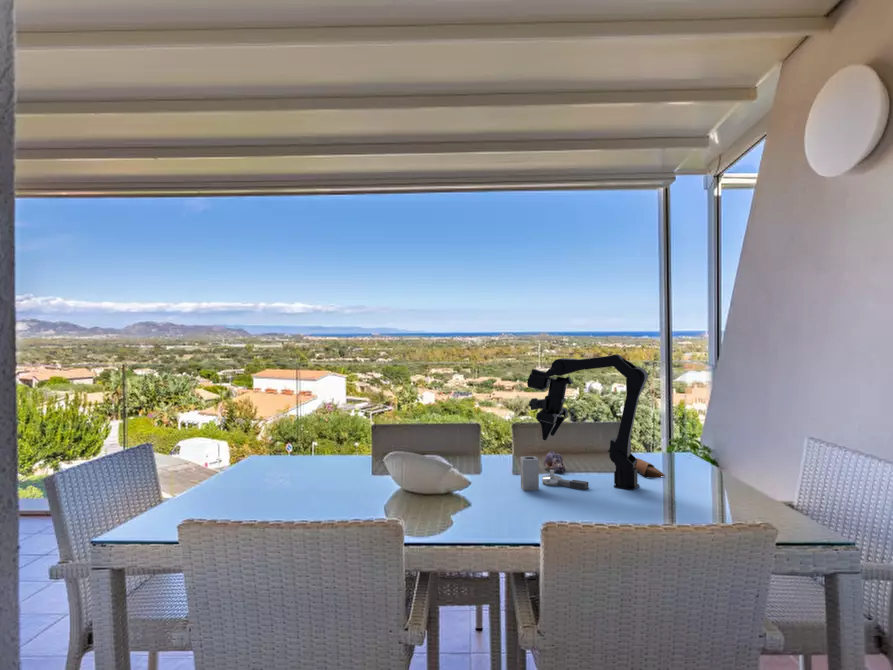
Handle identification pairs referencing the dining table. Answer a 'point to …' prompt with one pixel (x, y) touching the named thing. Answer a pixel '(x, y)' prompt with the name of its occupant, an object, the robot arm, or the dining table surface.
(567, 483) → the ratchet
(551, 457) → the skull
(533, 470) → the socket
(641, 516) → the dining table surface
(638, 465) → the sunglasses case
